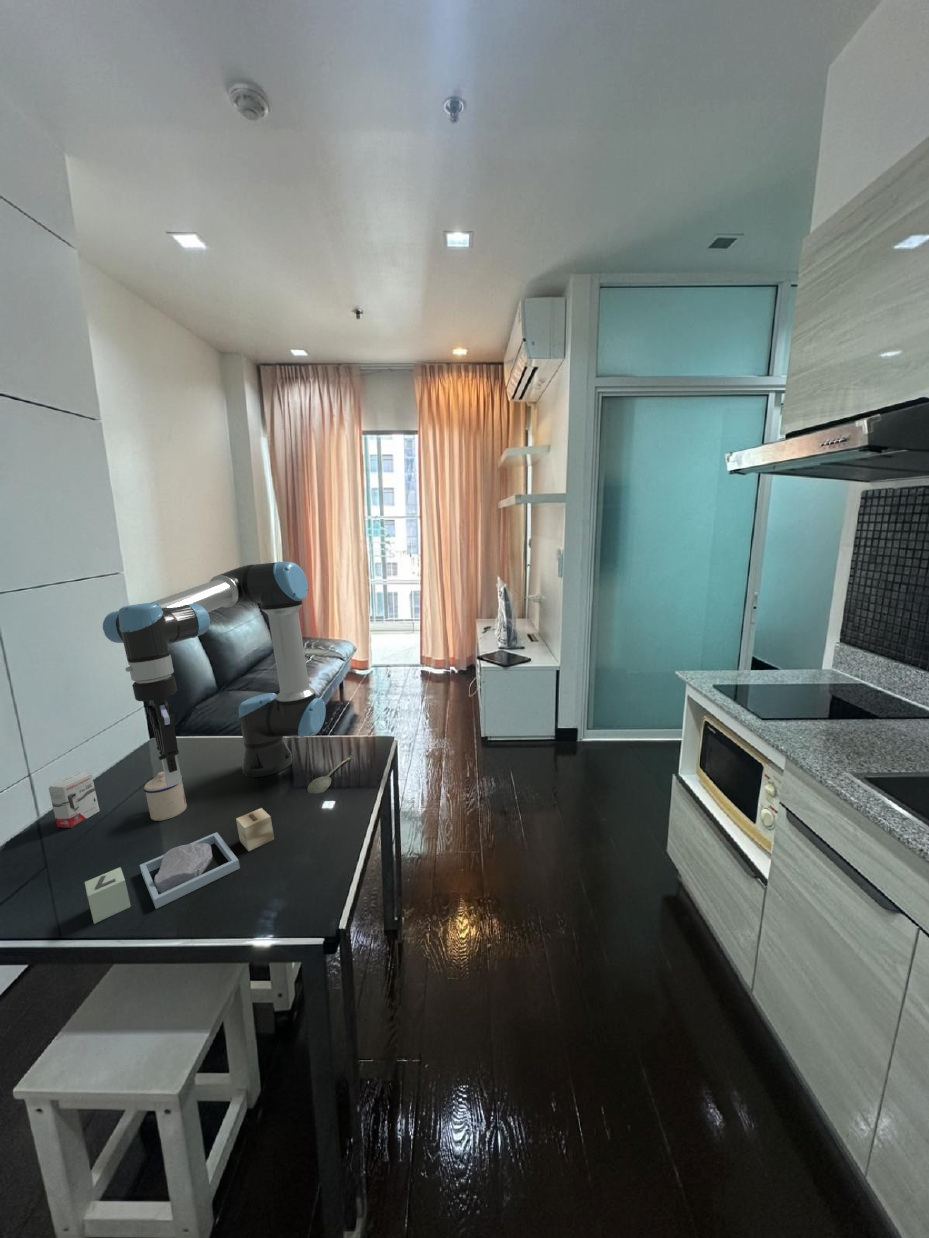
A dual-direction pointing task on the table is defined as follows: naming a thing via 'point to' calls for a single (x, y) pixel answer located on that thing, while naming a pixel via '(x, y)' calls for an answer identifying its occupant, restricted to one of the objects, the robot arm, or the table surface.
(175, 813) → the teacup with lid
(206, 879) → the slate-blue holder
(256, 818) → the numbered birch block
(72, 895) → the table surface
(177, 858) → the stone block
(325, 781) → the soupspoon
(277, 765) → the robot arm
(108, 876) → the numbered sage-green block
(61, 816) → the ink box
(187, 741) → the table surface
